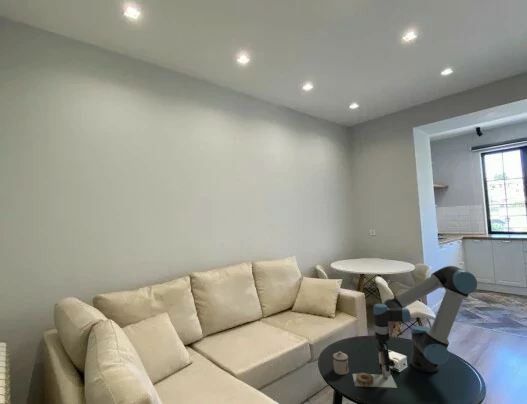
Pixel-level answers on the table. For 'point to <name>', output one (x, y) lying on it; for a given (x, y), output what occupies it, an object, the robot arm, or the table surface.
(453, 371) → the table surface
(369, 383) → the wooden ring
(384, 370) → the birch dowel
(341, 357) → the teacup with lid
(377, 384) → the felt mat
